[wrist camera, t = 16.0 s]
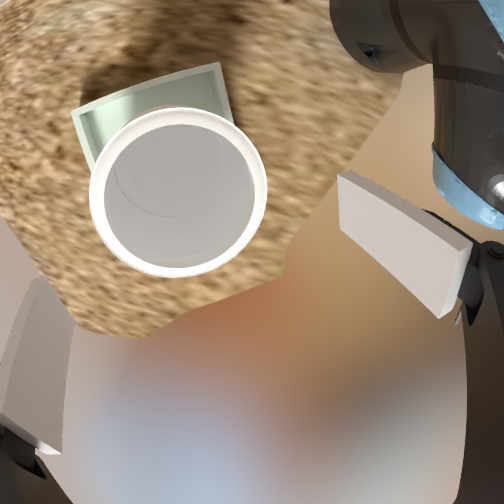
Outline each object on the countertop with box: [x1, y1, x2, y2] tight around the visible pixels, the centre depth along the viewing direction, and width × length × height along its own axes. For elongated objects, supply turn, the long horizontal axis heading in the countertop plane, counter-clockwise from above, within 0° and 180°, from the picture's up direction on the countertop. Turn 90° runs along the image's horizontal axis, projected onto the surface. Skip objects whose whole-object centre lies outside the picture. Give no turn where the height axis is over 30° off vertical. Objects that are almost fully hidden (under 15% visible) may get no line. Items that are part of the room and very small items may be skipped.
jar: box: [89, 105, 267, 278], centre depth 22 cm, size 11×10×15 cm
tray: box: [71, 62, 234, 173], centre depth 27 cm, size 14×15×4 cm
